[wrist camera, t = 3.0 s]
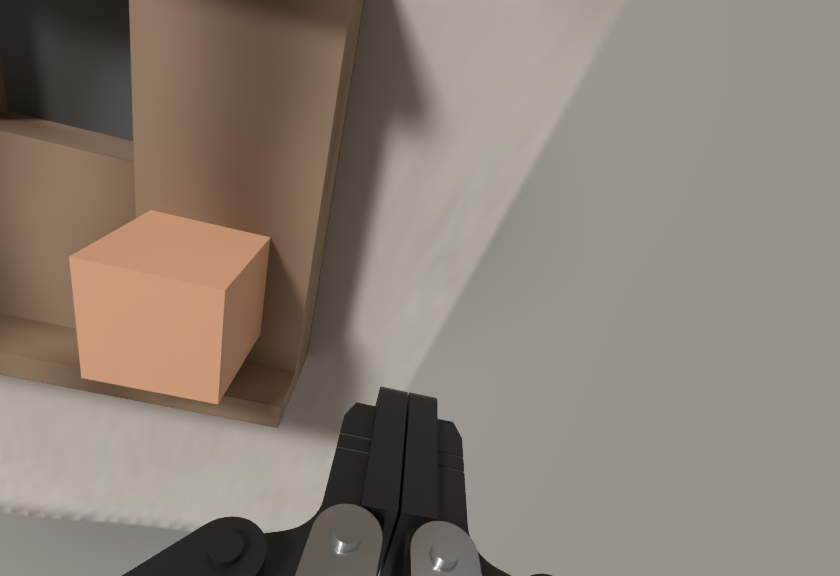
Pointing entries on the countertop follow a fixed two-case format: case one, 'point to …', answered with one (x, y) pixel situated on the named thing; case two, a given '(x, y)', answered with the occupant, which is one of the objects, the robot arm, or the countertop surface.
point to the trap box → (168, 161)
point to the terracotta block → (169, 305)
